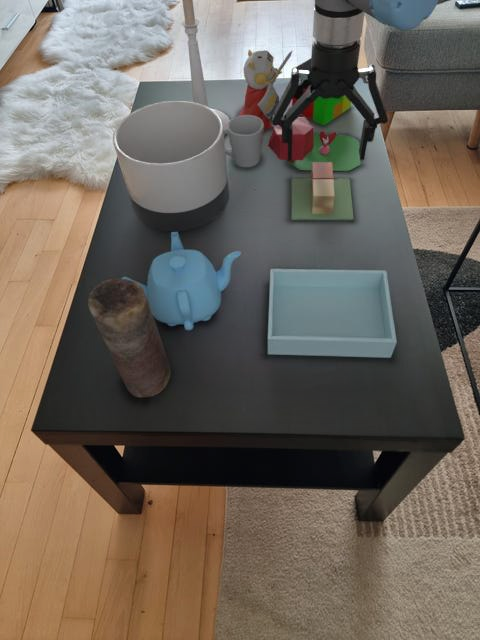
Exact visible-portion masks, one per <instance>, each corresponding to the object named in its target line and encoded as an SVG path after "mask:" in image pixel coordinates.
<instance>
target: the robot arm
mask: <svg viewBox="0 0 480 640" xmlns="http://www.w3.org/2000/svg"><path fill="white" fill-rule="evenodd" d="M450 1H451V0H314V9H313V20H312V21H313V23H312V24H313V25H312V38H313V39H312V42H311V54H310V56H311V57H310V59H311V67H310V69H309V70H308V71H304V70H299V68H298V67H297V66H294V67H292V68H291V74H290V80H289V82H288V84H287V85H286V87H285V90H284V92H283V93H282V95H281V97H280V98H279V103H278V105H277V107H276V109H275V111H274V112H273V115H272V117H271V125H272V126H273V127H274V126H277V125H279V126H281V127H282V142H283V143H288V160H287V161H288V162H289V161H292V133H293V122H294V121H295V120H296V119H297V118H298V117H300V116H301V113H302V112H303V111H304V110H305V109H306V108H307V107H308V106H309V105H310V104H311V103H312V102H314V101H315V100H316V99H317V98H318V97H319V96H320V97H322V99H328V98H336V99H338V98H341V97H342V96H344V95H345V96H346V97H347V98H348V100H349V101H350V102H351V104H352V105H353V106H354V108H355V109H356V110H357V111H358V113H359V114H360V115H361V117H363V124H362V130H361V136H360V141H359V155H360V161H365V159H366V158H365V156H366V152H367V146H368V143H372V142H373V141H374V138H375V133H376V130H377V128H378V125H380V124H383V125H385V124H387V123H388V121H389V118H388V113H387V110H386V107H385V104H384V101H383V99H382V96H381V93H380V92H381V91H380V90H379V87H378V83H377V71H376V66H375V65H374V64H372V63H371V64H369V65H368V66H367V67H366V68H359V67H358V66H359V60H360V59H359V58H360V52H361V51H360V50H361V44H362V41H361V38H362V35H363V31H364V30H363V29H364V21H365V14H366V15H369V17H371V18H373V19H375V20H376V21H377V22H379V23H380V24H382V25H384V26H385V25H386V26H387V27H392V28H394V29H396V30H397V31H402V32H403V31H404V32H405V31H406V32H407V31H412V30H415V29H417V28H418V27H420V26H421V25H422V22H424V21H425V20H427V19H429V17H430V16H431V15H432V13H433V12H434V10H435V9H436V7H437V6H438V5H441V4H444V3H446V2H450ZM306 79H308V82H309V83H310V84H311V85H310V86H309V87H308V88H307V90H306V92H305V93H304V94H303V95H302V96H301V97H300V98H299V99H298V101H297V102H296V103H295V104H294V105H293V106H292V105H291V107H290V108H289V109H288V107H289V106H290V104H291V103H292V98H293V96H294V94H295V93H296V90H297V87H298V85H299V86H300V85H301V84H302V83H303V81H304V80H306ZM359 79H362V83H364V84H366V85H367V86H368V90H369V93H370V96H371V99H372V101H373V104H374V107H375V110H376V112H377V113H374V111H373V110H372V108H371V107H370V106H369V105H368V103H367V102H366V101H365V99H364V98H363V97H362V96H361V94H360V93H359V91H358V90H357V88H356V86H355V84H356V83H357V82H358V81H359ZM287 109H288V110H287Z"/></svg>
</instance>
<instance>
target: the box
mask: <svg viewBox="0 0 480 640" xmlns="http://www.w3.org/2000/svg"><path fill="white" fill-rule="evenodd" d="M268 294H269V295H268V298H269V299H268V321H267V322H268V323H267V355H278V356H279V355H280V356H286V355H287V356H312V357H313V356H315V357H348V358H349V357H350V358H352V357H354V358H385V359H386V358H387V359H389V358H392V356H393V353H394V350H395V347H396V345H397V335H396V326H395V322H394V321H395V320H394V314H393V307H392V300H391V294H390V286H389V280H388V273H387V270H379V269H377V270H374V269H373V270H371V269H369V270H367V269H308V268H307V269H305V268H303V269H301V268H299V269H298V268H297V269H296V268H270V271H269V293H268Z"/></svg>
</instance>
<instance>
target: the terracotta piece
mask: <svg viewBox="0 0 480 640" xmlns="http://www.w3.org/2000/svg"><path fill="white" fill-rule="evenodd" d="M310 179H311V195H312V183H313V179H334V171H333V165H332V162H312V170H311V172H310Z"/></svg>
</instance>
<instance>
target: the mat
mask: <svg viewBox="0 0 480 640" xmlns="http://www.w3.org/2000/svg"><path fill="white" fill-rule="evenodd" d="M350 179H351V178H333V180H334V193H335V198H334V205H333V213H332V214H312V204H311V178H291V207H290V208H291V209H290V211H291V214H290V215H291V216H290V219H291V221H292V220H293V221H354V219H355V218H354V210H353V209H354V208H353V199H352V189H351V180H350Z"/></svg>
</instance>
